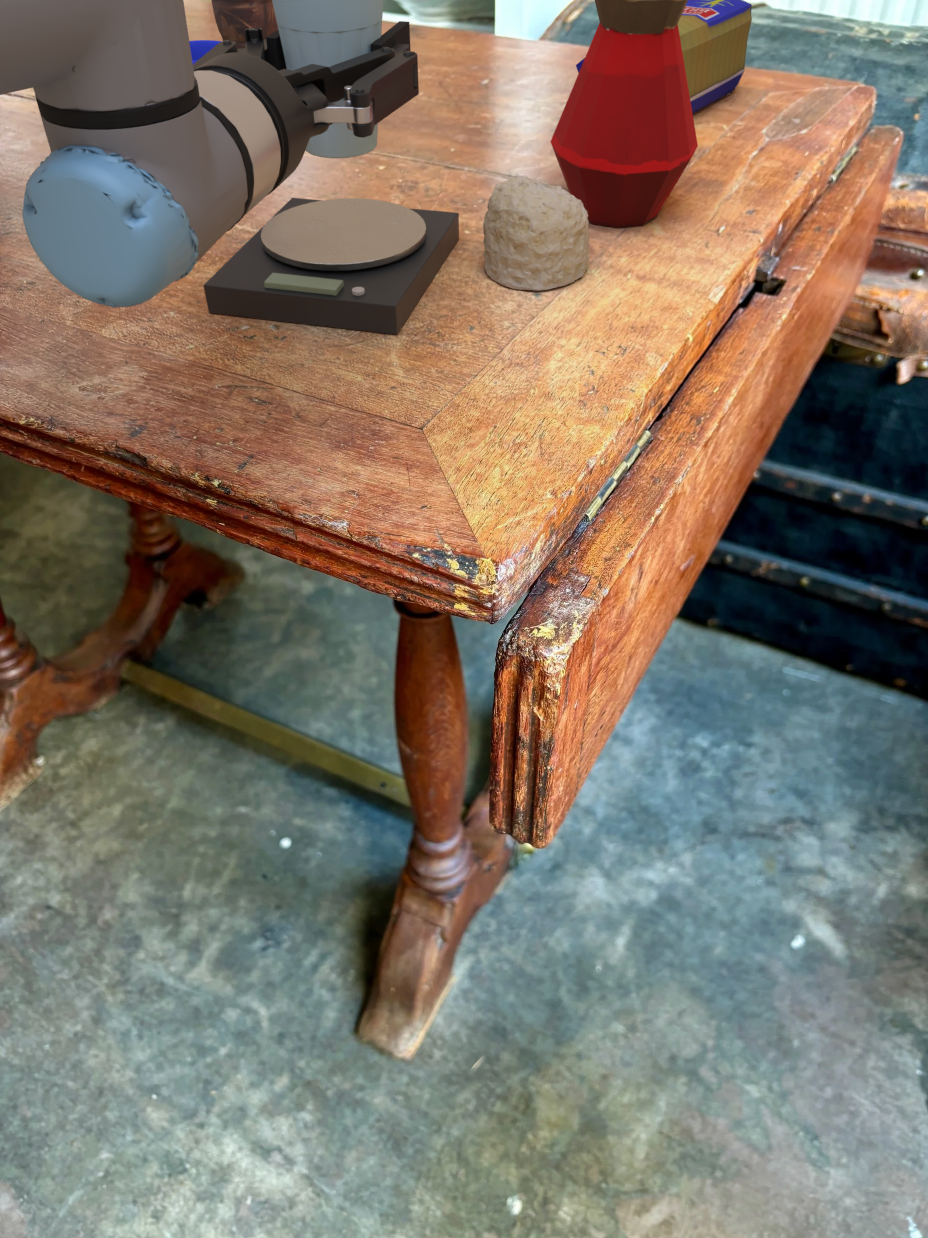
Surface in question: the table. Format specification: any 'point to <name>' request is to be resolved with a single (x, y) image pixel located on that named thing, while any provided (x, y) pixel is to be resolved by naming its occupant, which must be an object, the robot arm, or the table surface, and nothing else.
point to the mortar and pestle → (244, 18)
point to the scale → (331, 283)
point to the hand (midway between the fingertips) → (355, 39)
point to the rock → (535, 235)
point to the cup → (330, 54)
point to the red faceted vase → (628, 115)
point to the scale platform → (343, 234)
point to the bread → (712, 47)
